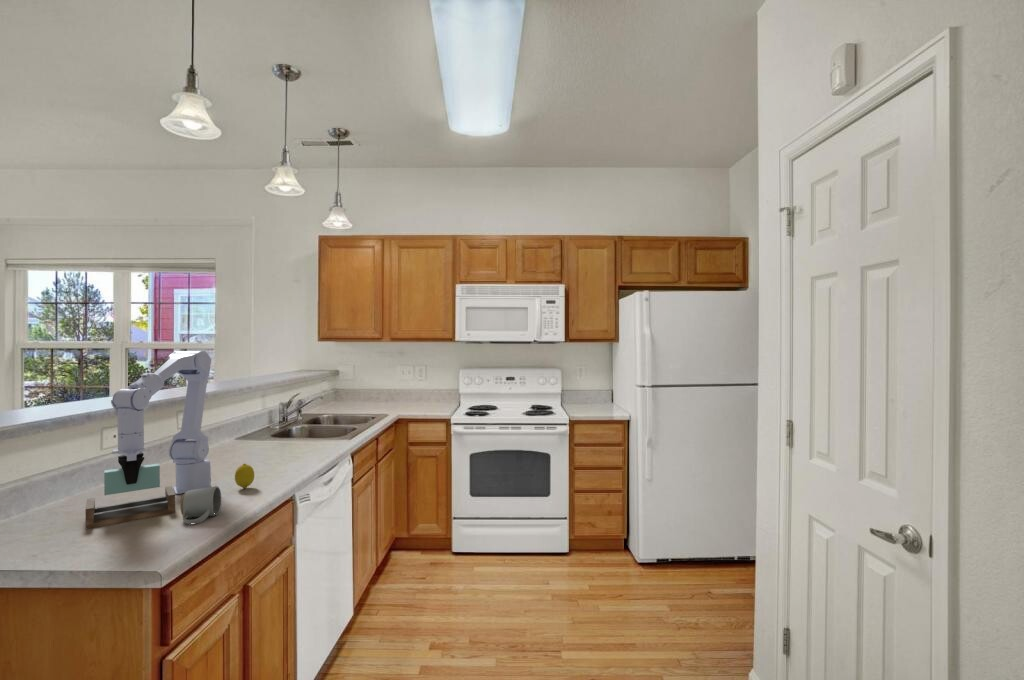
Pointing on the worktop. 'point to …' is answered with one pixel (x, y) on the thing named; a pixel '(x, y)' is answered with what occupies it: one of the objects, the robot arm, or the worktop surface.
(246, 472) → the lemon
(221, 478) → the worktop surface
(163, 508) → the track board
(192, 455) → the robot arm
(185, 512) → the ceramic mug
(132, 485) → the long teal rectangular block
